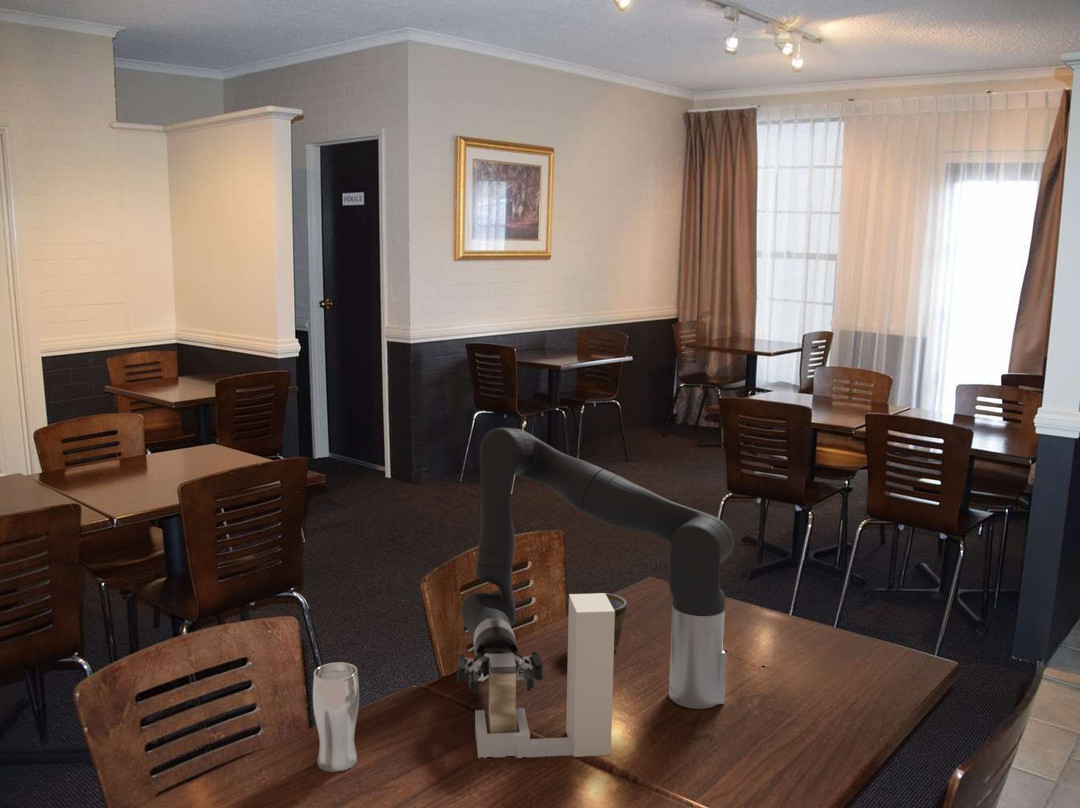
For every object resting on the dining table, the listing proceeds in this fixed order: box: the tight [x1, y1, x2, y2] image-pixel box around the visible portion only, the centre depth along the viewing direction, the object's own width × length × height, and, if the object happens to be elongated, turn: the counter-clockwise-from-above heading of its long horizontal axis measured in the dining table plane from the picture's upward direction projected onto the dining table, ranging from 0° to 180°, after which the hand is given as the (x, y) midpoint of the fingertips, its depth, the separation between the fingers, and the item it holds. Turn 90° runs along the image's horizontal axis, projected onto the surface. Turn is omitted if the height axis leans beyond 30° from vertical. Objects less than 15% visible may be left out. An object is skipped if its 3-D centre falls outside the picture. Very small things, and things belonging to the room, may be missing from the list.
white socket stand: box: [474, 592, 615, 759], centre depth 150 cm, size 21×10×24 cm, turn 97°
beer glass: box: [312, 661, 360, 773], centre depth 144 cm, size 7×7×15 cm
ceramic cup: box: [590, 592, 627, 652], centre depth 187 cm, size 13×10×10 cm
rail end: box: [488, 653, 517, 734], centre depth 151 cm, size 4×5×14 cm
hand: (502, 686), depth 149 cm, fingers open, 8 cm apart
